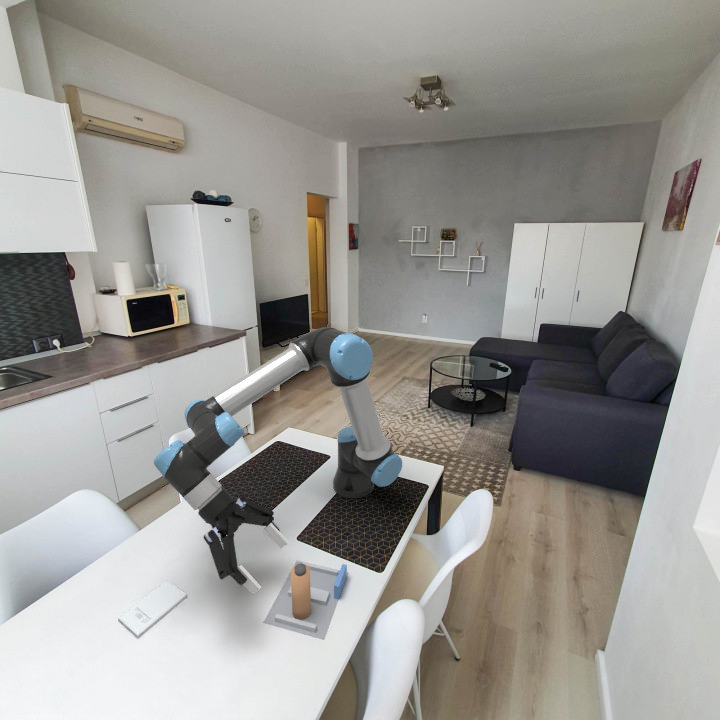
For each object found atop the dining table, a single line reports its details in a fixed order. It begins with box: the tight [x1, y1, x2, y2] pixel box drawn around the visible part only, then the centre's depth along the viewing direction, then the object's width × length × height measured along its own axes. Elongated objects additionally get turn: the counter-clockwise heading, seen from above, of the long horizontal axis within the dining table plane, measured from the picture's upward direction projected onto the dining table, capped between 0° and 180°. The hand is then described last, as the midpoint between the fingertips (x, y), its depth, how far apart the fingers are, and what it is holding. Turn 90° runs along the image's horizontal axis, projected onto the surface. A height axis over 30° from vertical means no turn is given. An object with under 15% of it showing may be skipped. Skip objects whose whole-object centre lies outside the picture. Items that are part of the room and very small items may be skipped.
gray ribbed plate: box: [263, 560, 349, 641], centre depth 95 cm, size 15×19×5 cm
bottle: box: [290, 564, 311, 620], centre depth 89 cm, size 4×4×13 cm
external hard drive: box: [117, 580, 188, 639], centre depth 93 cm, size 2×8×12 cm
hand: (271, 566), depth 89 cm, fingers open, 13 cm apart
